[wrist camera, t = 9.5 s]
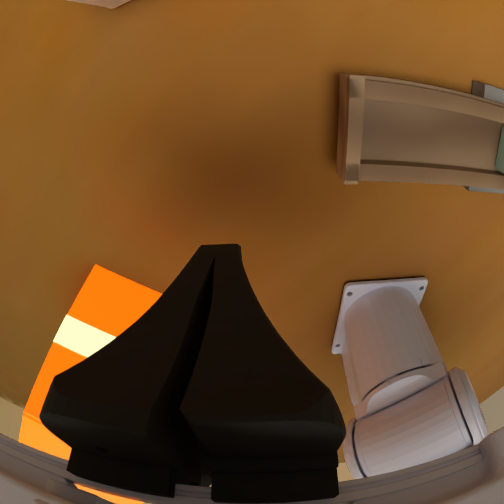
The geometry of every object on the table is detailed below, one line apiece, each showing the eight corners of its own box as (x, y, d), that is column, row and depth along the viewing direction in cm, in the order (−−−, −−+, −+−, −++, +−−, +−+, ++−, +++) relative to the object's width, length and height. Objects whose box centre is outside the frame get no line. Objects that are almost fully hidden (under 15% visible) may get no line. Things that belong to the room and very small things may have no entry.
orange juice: (95, 262, 24) (-2, 490, 8) (187, 303, 27) (148, 544, 10) (84, 315, 28) (19, 496, 12) (162, 348, 30) (127, 535, 14)
